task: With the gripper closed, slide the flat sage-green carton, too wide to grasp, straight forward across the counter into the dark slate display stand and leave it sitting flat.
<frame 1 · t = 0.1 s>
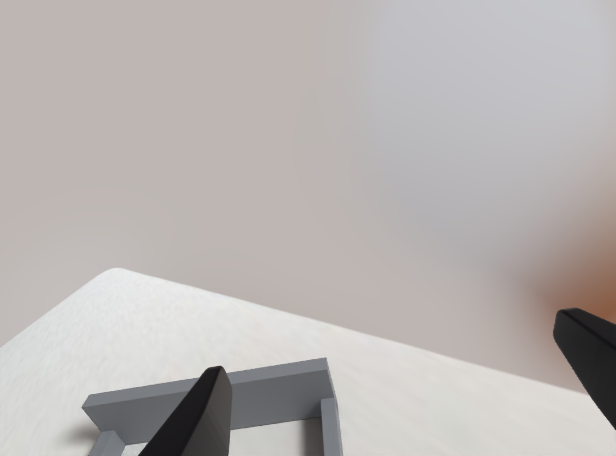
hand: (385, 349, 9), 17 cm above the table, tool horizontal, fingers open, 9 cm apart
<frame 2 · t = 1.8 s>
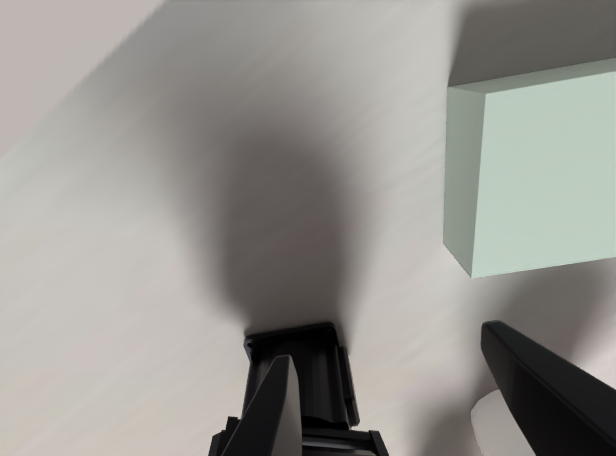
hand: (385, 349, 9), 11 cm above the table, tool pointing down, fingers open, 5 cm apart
carton: (533, 157, 18), on the table
foam cup: (506, 408, 28), on the table
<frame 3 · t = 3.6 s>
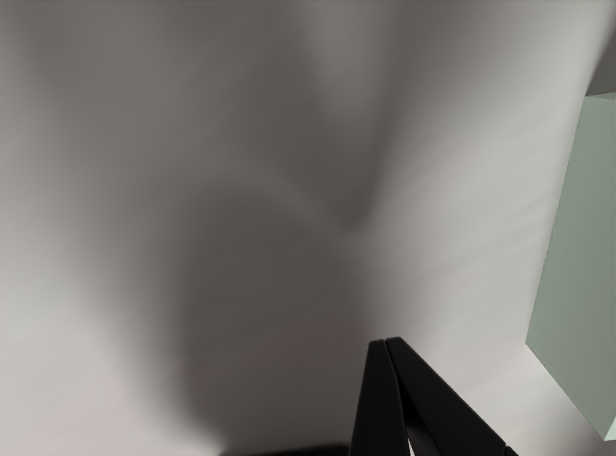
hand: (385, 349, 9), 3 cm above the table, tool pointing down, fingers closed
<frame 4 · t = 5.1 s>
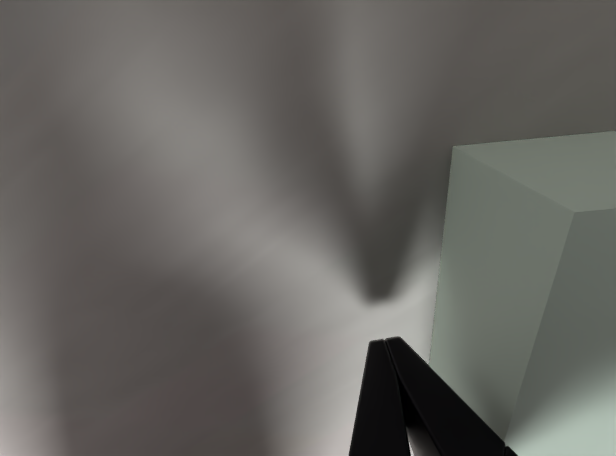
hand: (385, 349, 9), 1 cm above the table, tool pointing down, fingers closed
carton: (599, 278, 10), on the table, touching gripper
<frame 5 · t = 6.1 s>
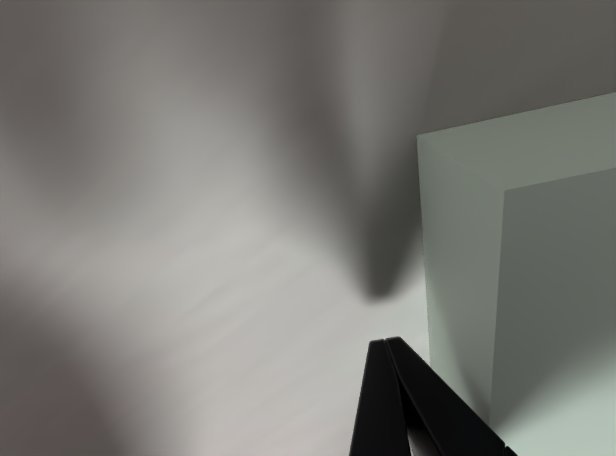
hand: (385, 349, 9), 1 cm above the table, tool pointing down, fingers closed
carton: (592, 248, 10), on the table
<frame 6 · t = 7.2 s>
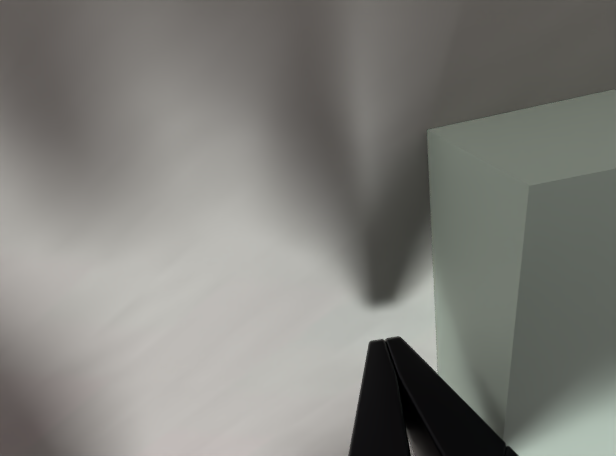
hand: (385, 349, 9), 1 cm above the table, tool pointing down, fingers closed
carton: (608, 249, 9), on the table
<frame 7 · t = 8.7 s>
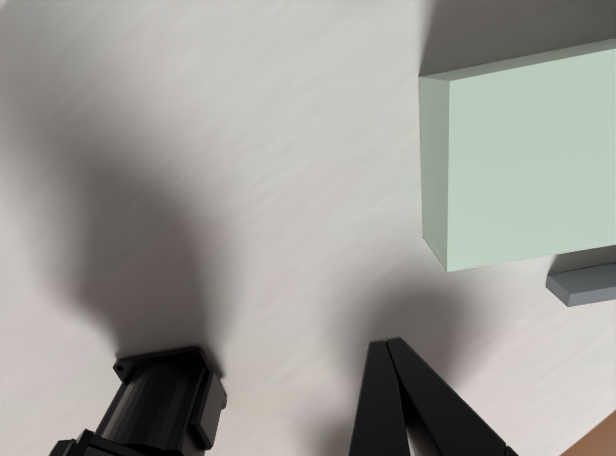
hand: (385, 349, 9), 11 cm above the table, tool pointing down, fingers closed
carton: (510, 147, 18), on the table
display stand: (595, 149, 18), on the table
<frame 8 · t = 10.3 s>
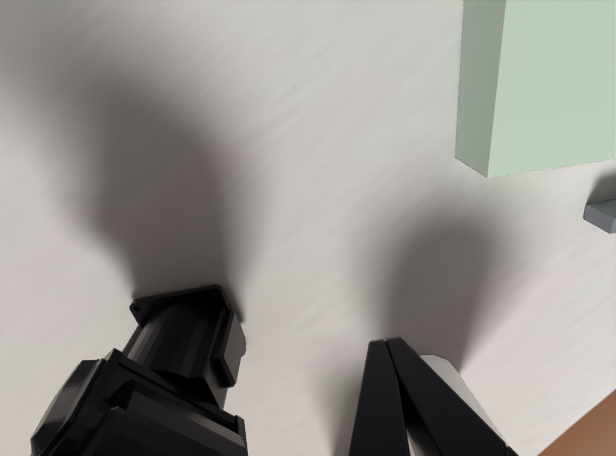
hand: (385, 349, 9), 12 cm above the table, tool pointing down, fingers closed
carton: (554, 56, 17), on the table
foam cup: (417, 379, 28), on the table
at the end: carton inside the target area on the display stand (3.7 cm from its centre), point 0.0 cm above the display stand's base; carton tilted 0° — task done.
